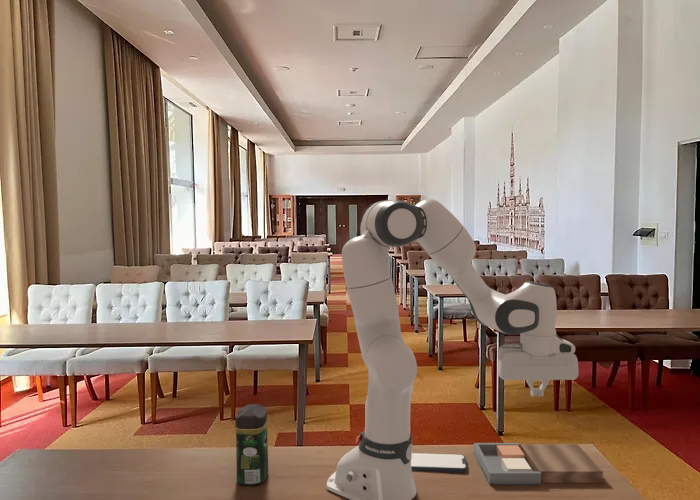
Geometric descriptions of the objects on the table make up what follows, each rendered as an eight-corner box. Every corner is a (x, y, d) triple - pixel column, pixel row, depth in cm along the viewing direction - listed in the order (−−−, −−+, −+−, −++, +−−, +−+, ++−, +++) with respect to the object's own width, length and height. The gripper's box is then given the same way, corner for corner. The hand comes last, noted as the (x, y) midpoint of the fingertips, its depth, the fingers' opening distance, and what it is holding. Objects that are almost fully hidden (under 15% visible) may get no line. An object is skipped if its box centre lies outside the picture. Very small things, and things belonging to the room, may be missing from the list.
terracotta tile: (502, 463, 148) (502, 454, 148) (496, 453, 154) (496, 445, 154) (524, 463, 148) (524, 454, 147) (517, 453, 154) (517, 445, 153)
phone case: (406, 472, 146) (467, 474, 144) (406, 466, 146) (467, 468, 143) (407, 457, 154) (465, 459, 152) (407, 452, 154) (465, 454, 152)
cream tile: (507, 478, 140) (507, 468, 140) (501, 467, 146) (501, 458, 146) (531, 478, 140) (531, 468, 139) (523, 467, 146) (524, 458, 145)
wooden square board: (539, 482, 139) (539, 471, 138) (520, 454, 154) (520, 444, 154) (602, 482, 138) (603, 471, 138) (577, 454, 154) (577, 444, 154)
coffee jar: (241, 468, 147) (240, 401, 145) (270, 469, 146) (269, 401, 145) (233, 487, 137) (231, 415, 136) (264, 487, 137) (263, 415, 135)
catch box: (489, 484, 138) (489, 473, 137) (473, 453, 156) (473, 442, 155) (540, 484, 138) (541, 473, 137) (519, 453, 155) (519, 442, 155)
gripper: (501, 346, 139) (500, 399, 140) (581, 346, 138) (580, 399, 139) (494, 340, 145) (494, 391, 146) (571, 340, 145) (570, 391, 146)
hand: (536, 395), depth 143 cm, fingers closed
